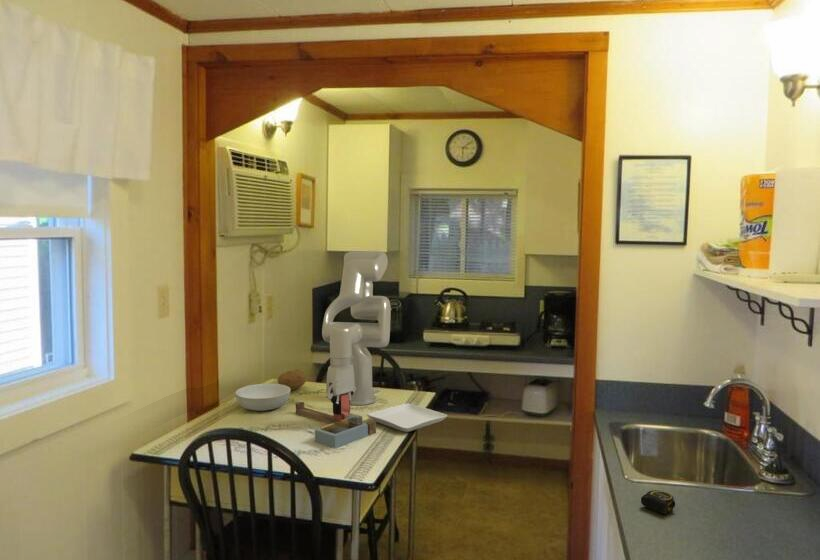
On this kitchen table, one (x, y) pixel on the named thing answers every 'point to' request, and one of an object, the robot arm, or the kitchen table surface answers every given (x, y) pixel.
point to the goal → (341, 436)
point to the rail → (328, 417)
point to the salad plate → (406, 417)
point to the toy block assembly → (343, 415)
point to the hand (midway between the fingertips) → (341, 411)
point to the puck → (338, 430)
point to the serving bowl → (263, 396)
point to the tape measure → (658, 501)
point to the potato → (292, 379)
